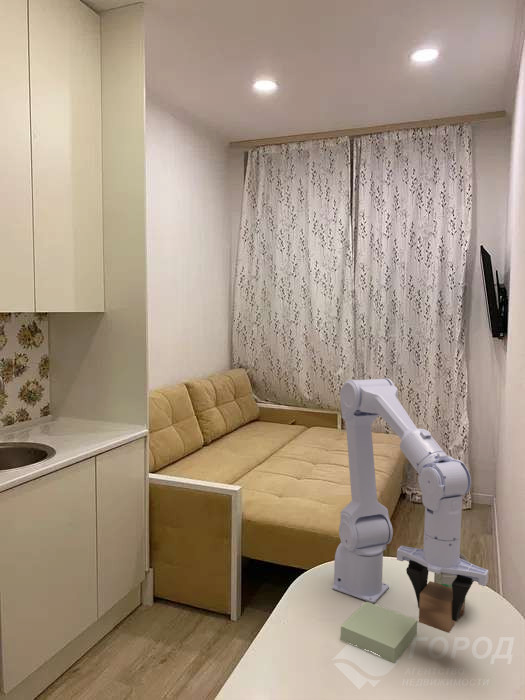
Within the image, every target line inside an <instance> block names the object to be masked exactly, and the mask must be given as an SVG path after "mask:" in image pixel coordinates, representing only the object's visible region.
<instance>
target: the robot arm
mask: <svg viewBox="0 0 525 700" xmlns="http://www.w3.org/2000/svg"><path fill="white" fill-rule="evenodd" d="M339 397H340V400H339V401H340V408H341V410H340V411H341V419H343V420H344V421H345V428H346V429H345V431H346V443H347V455H348V457H347V458H348V469H349V479H350V480H349V482H350V492H351V493H350V495H351V501H350V502H349V503H348V504H346V506H344V507H343V509H342V510H341V511H340V521H339V522H340V523H339V527H338V534H339V539H340V543H339V544H338V545H337V548H336V550H335V553H334V564H333V565H334V567H333V569H334V571H333V572H334V573H333V585H332V586H331V588H332V589H333V590H335V591H338V592H341V593H344V594H346V595H349V596H351V597H355V598H358V599H360V600H363V601H365V602H366V601H367V602H369V603H372V604H375V603H376V602H377V601H378V600H379V599H380V598H381V597H382V596H383V595H384V594H385V593H386V591H387V590H388V589H389V588H390V585H389V584H387V583H384V582H383V570H384V569H383V567H384V566H383V565H384V564H383V562H384V561H383V560H384V551H385V550H387V545H388V544H390V543H391V542H392V539H393V535H394V530H393V525H392V522H391V520H390V515H389V510H388V508H387V507H386V506H385V505H383V504H382V503H380V502H379V500H378V495H377V493H378V492H377V483H376V468H375V458H374V456H375V455H374V445H373V443H374V442H373V433H372V424H373V423H374V421H375V420H376V419H377V418H378V417H381V419H383V421H384V422H385V423H386V424H387V425H388V426H389V427H390V428H391V430H392V431H393V432H394V433H395V434H396V436H398V437H399V439H400V443H399V449H400V451H401V452H402V453H403V455H404V456H405V458H406V459H407V460H408V462H409V463H410V464H411V466H412V467H413V468H414V470H415V471H416V472H417V474H418V476H417V479H418V480H417V482H418V486H419V489H420V491H421V496H422V497H421V498H422V499H421V502H422V504H423V506H424V526H423V527H424V528H423V548H418V547H417V548H416V547H412V546H411V547H409V546H406V545H400V546H399V547H398V548H397V550H396V561H400V562H404V561H406V562H408V566H407V568H406V569H405V570H406V575H407V576H408V578H409V580H410V582H411V584H412V588H413V589H414V593H415V596H416V601H417V608H418V609H419V601H420V593H421V591H422V590H423V589H424V588H425V586H426V585H427V584H428V578H429V572H430V573H433V574H434V573H437V574H440V573H441V572H443V573H449V574H452V575H455V576H457V577H456V579H455V580H454V581H453V583H452V591H453V609H452V620H453V621H456V622H458V620H459V619H460V618H459V617H460V612H461V608H462V605H463V602H464V599H465V600H466V597H467V595H468V593H469V590H470V589H471V587H472V585H473V583H474V582H476V583H477V584H478V585H479V586H482V587H486V586H487V584H488V582H489V569H486V568H484V567H480V566H478V565H475V564H473V563H471V562H467V561H465V560H463V559H461V558H460V553H461V535H462V534H461V532H462V515H463V513H462V511H463V496H464V495H467V494H468V493H469V492H470V490H471V487H472V475H471V474H470V471H469V469H468V467H467V466H466V464H465V462H463V461H462V460H460V459H457V458H456V459H455V458H454V457H452V456H450V455H447V453H446V452H445V451H444V450H443V447H441V446H440V445H439V443H438V442H437V441H436V440H435V439H434V437H433V436H432V435H433V434H431V433H430V431H429V430H428V429H424V428H417V426H416V425H415V422H413V420H412V418H411V417H410V415H409V414H408V412H407V411H406V410H405V408H404V407H403V405H402V403H401V402H400V401H399V389H398V387H397V386H395V383H394V382H393V381H392V380H391V379H390V378H388V377H383V378H374V379H373V378H371V379H347V380H346V381H345V382H344V383H343V385H342V387H341V389H340V390H339ZM458 618H459V619H458Z"/></svg>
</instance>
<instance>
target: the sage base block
mask: <svg viewBox="0 0 525 700" xmlns="http://www.w3.org/2000/svg"><path fill="white" fill-rule="evenodd" d="M417 634H418V619H415V618H412V617H410V616H408V615H407V616H406V615H404V614H401V613H399V612H396V611H393V610H390V609H388V608H386V607H383V606H380V605H377V604H375V603H371V602H368V601H365V602H364V603H363V604H362V605H361V606H360V607H359V608H358V609H357V610H356V611H355V612H354V613H353V614H351V616H350V617H349V618H348V619H347V620H345V621H344V622H343V623H342V625H340V641H342V640H343V641H342V642H344V641H345V642H344V643H347V642H348V643H347V644H349V643H351V644H353V645H352V646H354V645H357V646H358V647H360V648H359V649H361V648H363V649H366V650H369V651H372V652H374V653H376V654H378V655H380V656H381V657H382V658H381V657H380V658H381V659H384V660H387V662H391V663H393V664H396V661H398V659H399V658H400V657H401V656H402V654H403V652H405V651H406V649H407V648H408V646H410V644H411V643H412V641H413V640H414V638H415V637H416V636H417ZM351 644H350V645H351ZM358 647H357V648H358ZM363 649H362V650H363Z"/></svg>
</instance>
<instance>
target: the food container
mask: <svg viewBox="0 0 525 700" xmlns="http://www.w3.org/2000/svg"><path fill="white" fill-rule="evenodd" d="M460 558H461V559H463V560H465V561H467V562H469V559H468V558H467V557H466V556H465V555H464V554H463V553H461V552H460ZM469 563H470V562H469ZM433 574H434V577H433V579H434V580H433V582H435V583H438V584H441V585H444V586H447V587H450V588H452V583H453V581H454V580H455V579H456V577H457V576H455V575H452V574H449V573H443V572H441V573H440V574H437V573H433ZM465 604H466V598H465V599H464V602H463V605H462V608H461V612H460V617H459V618H458V620H459V619H461V617H463V616H464V612H465Z"/></svg>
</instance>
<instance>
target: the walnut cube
mask: <svg viewBox="0 0 525 700" xmlns="http://www.w3.org/2000/svg"><path fill="white" fill-rule="evenodd" d="M452 609H453V591H452V588H450V587H447V586H444V585H441V584H438V583H435V582H434V581H431V580H429V581H428V582H427V585H426V586H425V588H424V589H423V590H422V591H421V593H420V601H419V608H418V623H419V624H420V623H421V624H423V625H426V626H428V627H431V628H433V629H437V630H439V631H441V632H442V631H443V632H445V633H447V634H450V633H451V631H452V629H453V628H454V627H455V625H456V623H457V621H453V620H452Z"/></svg>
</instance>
